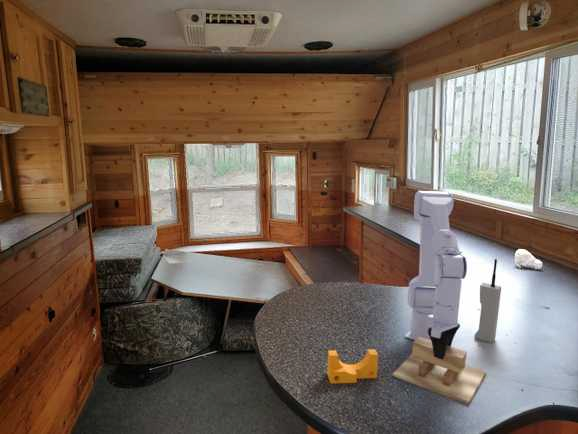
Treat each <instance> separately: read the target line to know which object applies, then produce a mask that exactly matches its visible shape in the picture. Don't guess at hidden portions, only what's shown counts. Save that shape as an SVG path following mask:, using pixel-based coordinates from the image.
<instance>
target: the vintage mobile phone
mask: <svg viewBox="0 0 578 434" xmlns="http://www.w3.org/2000/svg"><path fill="white" fill-rule="evenodd" d="M497 263H498V259H497V258H495V259H494V263H493V271H492V277H491V283H487V282H483V283H481V284H480V286H479V303H480V306H481V307H480V314H479V323H478V329H477V331H476V332H475V333H474V339H476V340H479V341H483V342H486V343H490V344H493V342H494V341H495V340H496V334H497V329H498V328H497V327H498V317H499V310H500V302H501V301H500V300H501V293H502V287H501V286H500V285H496V283H495V282H496V270H497Z"/></svg>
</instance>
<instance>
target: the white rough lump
mask: <svg viewBox="0 0 578 434" xmlns="http://www.w3.org/2000/svg"><path fill="white" fill-rule="evenodd" d="M514 262H515V265H516V267H519V269H522V266H531V267H534V270H537V269H538V270H540V269H541V268H542V267H543V262H542V261H541V260H540V259H537V258H536V257H535V256H534V255H532V253H531V252H529V251H528V250H527V249H523V248H522V249H521V248H519V249H517V250H516V251H515V254H514ZM521 265H522V266H521Z"/></svg>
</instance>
